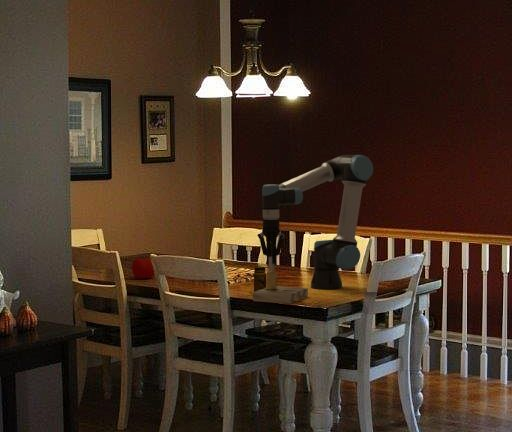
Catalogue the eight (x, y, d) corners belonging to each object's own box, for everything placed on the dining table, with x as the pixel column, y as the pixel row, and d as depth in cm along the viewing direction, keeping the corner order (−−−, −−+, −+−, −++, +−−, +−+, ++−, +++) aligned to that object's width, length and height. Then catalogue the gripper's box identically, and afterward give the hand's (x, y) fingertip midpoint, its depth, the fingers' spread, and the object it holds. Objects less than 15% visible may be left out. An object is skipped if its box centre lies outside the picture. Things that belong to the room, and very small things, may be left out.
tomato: (137, 276, 527) (136, 255, 526) (160, 277, 523) (160, 255, 523) (128, 280, 515) (127, 257, 514) (152, 280, 512) (151, 258, 511)
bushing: (269, 297, 452) (269, 271, 451) (278, 297, 451) (278, 271, 450) (265, 298, 449) (265, 272, 448) (274, 299, 447) (274, 273, 446)
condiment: (266, 293, 464) (265, 268, 463) (248, 293, 465) (247, 268, 464) (268, 291, 471) (268, 266, 470) (250, 291, 472) (250, 266, 471)
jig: (272, 294, 461) (272, 286, 460) (307, 296, 453) (307, 288, 452) (253, 301, 443) (252, 292, 442) (289, 303, 435) (289, 294, 434)
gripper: (254, 219, 446) (255, 271, 448) (280, 219, 441) (281, 272, 442) (261, 217, 453) (262, 269, 455) (287, 218, 447) (288, 270, 449)
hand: (271, 270), depth 449 cm, fingers closed
